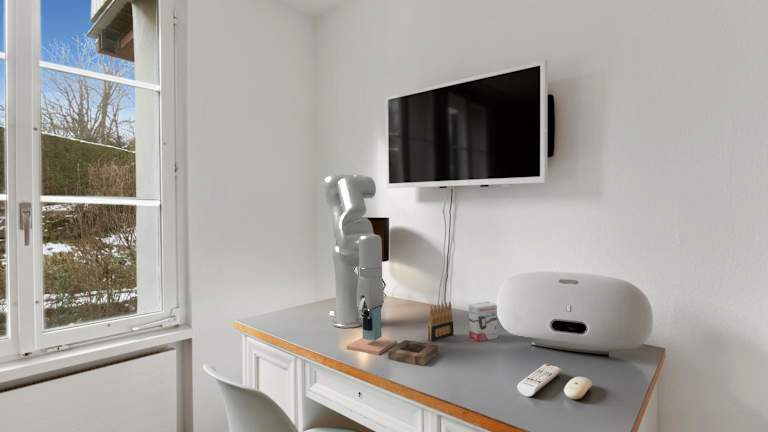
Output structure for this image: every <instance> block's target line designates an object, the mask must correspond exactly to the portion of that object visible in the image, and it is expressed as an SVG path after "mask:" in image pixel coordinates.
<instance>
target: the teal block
mask: <svg viewBox="0 0 768 432" xmlns="http://www.w3.org/2000/svg"><path fill="white" fill-rule="evenodd" d="M366 308H367V306H366ZM366 312H367V313H368V310H366ZM361 318H362V317H361ZM371 318H372V331H367V330H363V318H362V325H361V326H362V327H361V328H362V337H363V339H367V340H373V341H375V340H377V339H378V338H383V337H382V335H383V334H382V308H381V306H377V307H375V308H372V309H371Z"/></svg>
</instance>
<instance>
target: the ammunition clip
mask: <svg viewBox="0 0 768 432" xmlns="http://www.w3.org/2000/svg"><path fill="white" fill-rule="evenodd" d="M433 306H434V307H433ZM428 317H429V318H428V319H429V320H428V321H429V325H428V326H427V327H428V329H427V330H428V334H427V336H428V339H427V340H428V341H430V342H436V341H439V340H442V339H443V340H444V339H446V338H449V337H453V336H455V334H454V321H453V311H452V303H451V301H448V302H445V303H443V302H442V303H441V305H440V303H438V304H437V305H436V304H434V305H433V304H432V305H430V308H429V316H428Z"/></svg>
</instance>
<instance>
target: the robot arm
mask: <svg viewBox="0 0 768 432" xmlns="http://www.w3.org/2000/svg"><path fill="white" fill-rule="evenodd" d="M376 192H377V186H376V183H375V180H374V179H373V177H371V176H369V175H366V174H365V175H364V174H330V175H328V176H327V177H325V178H324V181H323V194H324V198H325V200H326V202H327V204H328V205H327V206H328V207H329V210H330V214H331V224H332V230H333V231H332V232H333V235H334V238H335V240H336V243H337V244H336V245H335V247H333V249H332V260H333V266H334V275H335V277H334V278H335V279H334V280H335V310H330V311H329V314H328V316H329V317H330V318H333V320H332V322H331V323H332V326H334V327H337V328H342V329H343V328H344V329H345V328H347V329H350V328H351V329H352V328H357V327H361V326H362V318H363V329H362V331H363V330H367V331H372V318H371V309H372V308H375V307H377V306H381V309H382V308H383V304H385V302H384V298H385V297H384V296H385V295H384V291H385V290H384V281H383V252H382V251H383V248H382V247H383V244H382V237H381V236H380V235H378V234H375V233H374V228H373V224H372V222H371V220H369V219H368V218H367V217H364V215H366V212H367V206H366V202H365V200H364V199H373V198H374V197H375V196H376ZM354 268H358V269H359V270H358V273H359V274H357V272H356V271H355V269H354ZM366 306H367V308H366ZM366 310H368V313H367V312H366Z"/></svg>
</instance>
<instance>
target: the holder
mask: <svg viewBox="0 0 768 432" xmlns="http://www.w3.org/2000/svg"><path fill="white" fill-rule="evenodd" d="M387 350H388V351H387V355H388V360H392V361H396V362H401V363H404V364H405V363H406V364H411V365H416V366H417V365H419V366H422V367H423V366H425V365H426V364H428V363H429V362H430V361H431V360H432V359H434V357H436V356H437V355H438V354H439V345H438V344H431V343H429V342H428V343H427V342H422V341H416V340H407V339H404V340H402V341H401V342H400V343H397V344H395V345H394V346H392V347H391V348H389V349H387Z"/></svg>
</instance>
